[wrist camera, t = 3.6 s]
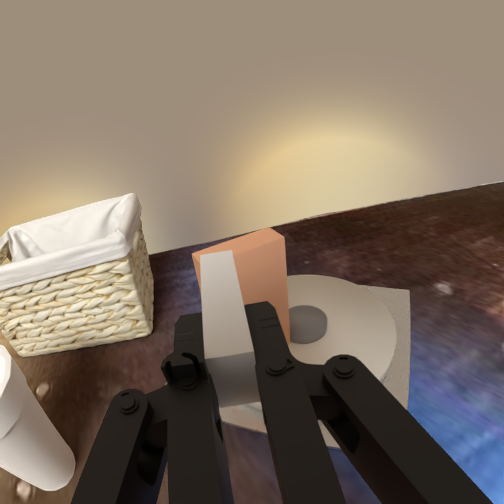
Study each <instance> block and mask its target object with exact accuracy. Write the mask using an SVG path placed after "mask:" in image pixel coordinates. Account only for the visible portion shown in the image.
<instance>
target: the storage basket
mask: <svg viewBox="0 0 504 504" xmlns="http://www.w3.org/2000/svg"><path fill="white" fill-rule="evenodd" d="M140 216H141V206H140V203H139V200H138V197H137V196H136V195H135V194H134V193H129V194H126V195H124V196H120V197H116V198H111V199H107V200H103V201H99V202H96V203H92V204H88V205H84V206H81V207H78V208H74V209H71V210H68V211H64V212H61V213H58V214H54V215H50V216H47V217H43V218H40V219H36V220H33V221H30V222H27V223H23V224H20V225H17V226H13V227H11V228H10V229H9V230H7V231H6V232H5V234H4V235H3V236H1V237H0V264H1V263H2V262H3V261H4V260H5V259H6V258H7V257H8V259H9V260H10V261H11V263H9V264H6V265H3V266H0V330H1V331H2V333H3V335H4V336H5V337H6V338H7V339H8V340H9V342H10V344H11V345H12V347H13V348H14V349H15V350H16V351H17V353H18V354H19V355H20V356H22V357H26V356H37V355H41V354H49V353H53V352H62V351H66V350H76V349H78V348H84V347H90V346H91V347H94V346H97V345H101V344H107V343H114V342H117V341H123V340H131V339H133V338H138V337H144V336H147V335H149V334H151V332H152V330H153V323H152V322H153V304H152V303H153V302H154V295H153V291H154V287H153V285H154V280H153V275H152V272H151V268H150V262H149V256H148V253H147V249H146V243H145V240H144V239H143V237H144V235H143V233H142V223H141V220H140Z"/></svg>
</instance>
